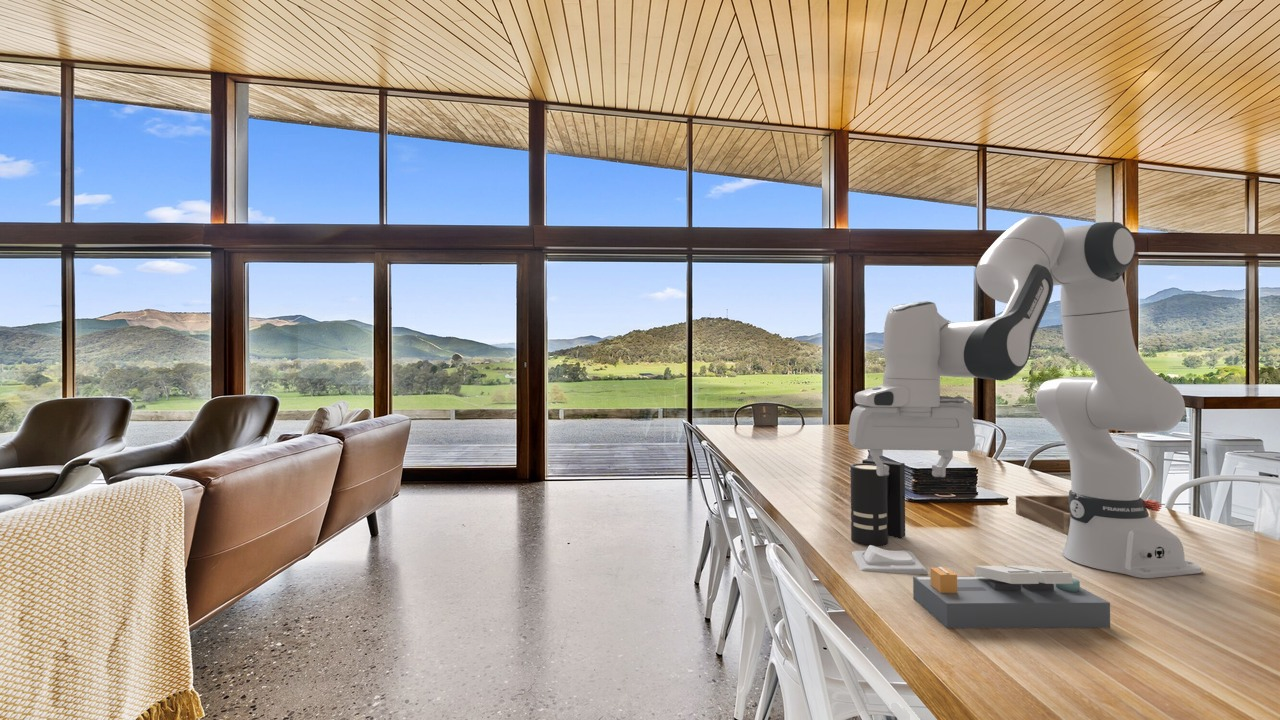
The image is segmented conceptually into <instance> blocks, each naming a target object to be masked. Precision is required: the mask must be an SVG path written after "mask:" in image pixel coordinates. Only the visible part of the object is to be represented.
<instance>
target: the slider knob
mask: <svg viewBox="0 0 1280 720" xmlns="http://www.w3.org/2000/svg"><path fill="white" fill-rule="evenodd" d="M929 573H930V575H929V576H930V580H931V586H932V587H934V588H935V589H936V590H938V591H939V592H940V593H957V576H958V574H956V573H955V572H954V571H952V570H951V569H949V568H948V567H942V566H938V567H930V570H929Z"/></svg>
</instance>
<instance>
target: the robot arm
mask: <svg viewBox="0 0 1280 720" xmlns="http://www.w3.org/2000/svg"><path fill="white" fill-rule="evenodd" d="M1135 241H1136V240H1135V237H1134V235H1133V233H1132V232H1131V230H1130V228H1128V227H1127V226H1125V225H1124V224H1122V223H1121V222H1119V221H1103V222H1102V221H1099V222H1096V223H1093V224H1086V225H1080V226H1073V227H1066V228H1063V227H1062V225H1061V224H1060V223H1059V222H1058V221H1056V220H1055V219H1053V218H1051V217H1048V216H1044V215H1030V216H1027V217H1024V218H1022V219H1020V220H1018V221H1017V222H1015V223H1014V224H1013V225H1012V226H1010V227H1009V228H1008V229H1007V230H1005V231H1004V232H1003V233H1002V234H1001V235H999V237H998V238H997V239H996V240H995V241H994V242H993V243H992V244H991V245H990V247H988V249H987V250H986V251H985V252H984V253H983V255H982V256H981V257H980V260H979V261H978V263H977V265H976V269H975V276H976V277H975V278H976V282H977V284H978V286H979V288H980V289H981V290H982V291H983V293H985V294H986V295H987V296H988V297H990V298H991V299H993V300H995V301H996V302H1000V303H1003V304H1006V305H1005V307H1004V309H1003V311H1002V313H1001V314H999V315H997V316H994V317H991V318H987V319H982V320H973V321H972V320H971V321H961V322H960V321H959V322H954V321H953V322H951V320H949V319H946V318H945V317H944V316H942V315H941V314H940V313H939V312H938V308H937V305H936V302H932V301H928V300H927V301H926V300H925V301H917V302H910V303H902V304H898V305H895V306H893V307H891V308H890V309H888V312H887V314H886V318H885V323H884V327H883V329H884V330H883V341H882V343H883V346H882V347H883V350H882V351H883V357H884V361H885V366H884V367H885V369H884V372H883V376H882V377H883V378H882V384H880V385H877V386H874V387H871V388H868V389H867V388H866V389H865V390H864V389H863V390H861V391H858V392H856V393H855V394H854V401H855V404H856V406H855V407H854V408H853V409H852V411H851V414H850V419H849V426H848V442H849V444H850V445H851V446H852V447H853V448H855V449H857V450H869V455H870V457H871V459H873V460H874V462H875V464H876V472H877V475H879V476H889V472H888V471H889V466H887V465H885V464H883V463H882V461H883V460H882V459H881V458H880V457H883V455H884V454H883V453H884V451H885V450H886V451H888V450H889V451H937V455H938V456H940V458H939V459H938V461H937V464H936V465H935V464H932V465H931V470H932V471H931V475H932V476H933V477H934V478H945V477H946V474H947V473H946V472H947V470H946V469H947V467H948V465H949V464H950V462H951V461H952V459H953V458H954V457H953V455H954V454H953V453H954V452H971V451H972V450H973V448H975V445H976V433H975V426H974V420H973V418H974V404H973V403H972V402H971V401H970V400H968V399H967V398H965V397H964V396H961V395H960V396H958V395H957V396H950V395H949V396H948V395H941V377H951V378H971V379H972V378H975V379H978V378H979V379H985V380H992V381H1000V382H1002V381H1008V380H1010V379H1012V378H1013V377H1015V376H1017V374H1019V373H1020V372H1021V371H1022V370H1023V369H1024V368H1025V366H1026V365H1027V363H1028V361H1029V359H1030V356H1031V350H1032V344H1033V339H1034V337H1035V335H1036V333H1037V330H1038V329H1039V326H1040V324H1041V321H1042V320H1043V318H1044V315H1045V312H1046V311H1047V308H1048V306H1049V303H1050V301H1051V298H1052V295H1053V291H1054V286H1061V287H1060V315H1061V316H1060V317H1061V324H1062V325H1061V326H1062V327H1061V328H1062V334H1063V345H1064V348H1065V350H1066V352H1067V353H1068V354H1069V355H1070V356H1071V357H1073V358H1074V359H1077V360H1078V361H1081V362H1083V363H1084V364H1085V365H1087V367H1088V368H1089V369H1090V371H1092V373H1093V376H1094V377H1093V376H1067V377H1066V376H1065V377H1059V378H1054V379H1049V380H1046V381H1044V382H1043V383H1042V384H1040V386H1039V387H1038V390H1037V391H1036V394H1035V399H1034V401H1035V406H1036V409H1037V410H1036V411H1038V413H1039V414H1040V416H1041V417H1042V418H1043V419H1045V420H1046V421H1047V422H1048V423H1049V424H1051V425H1052V427H1054V429H1055V430H1056V431H1057V432H1058V434H1059V436H1060V437H1061V439H1062V440H1063V443H1064V445H1065V448H1066V450H1067V454H1068V457H1069V465H1070V466H1069V467H1070V468H1069V469H1070V484H1071V487H1070V490H1068V495H1069V510H1070V515H1071V517H1070V525H1069V531H1068V535H1067V537H1066V541H1065V545H1064V548H1063V550H1062V556H1064V558H1066V559H1068V560H1070V561H1072V562H1074V563H1077V564H1079V565H1083V566H1087V567H1090V568H1093V569H1098V570H1102V571H1107V572H1114V573H1118V574H1124V575H1128V576H1131V577H1134V578H1135V577H1136V578H1140V579H1153V578H1162V577H1163V578H1164V577H1173V576H1184V575H1193V574H1201V573H1202V571H1203V570H1202V567H1200V566H1199V565H1198V564H1196V563H1195V562H1193V561H1191V560H1189V559H1186V558H1185V551H1184V550H1185V549H1184V546H1183V543H1182V541H1181V539H1180V538H1179V537H1178V536H1177V535H1176V534H1174V533H1173V532H1171V531H1170V530H1168V529H1167V528H1166V527H1164V526H1163V525H1162V524H1160V523H1158V521H1156V520H1155V519H1153V518H1152V517H1151V516H1150V514H1149V511H1148V510H1150V511H1153V512H1156V513H1157V512H1160V510H1161V509H1162V504H1160V502H1159V501H1156V500H1152V499H1147V500H1144V499H1143V498H1141V496H1140V464H1139V462H1138V460H1137V458H1136V456H1134V455H1133V454H1132V453H1130V452H1129V451H1127V450H1125V449H1124V448H1122V447H1120V446H1119V445H1118V444H1117V443H1116V442H1115V441H1114V440H1113V438H1112V436H1111V434H1110V431H1121V432H1129V433H1156V432H1166V431H1170V430H1173V429H1174V428H1175V427H1176V426H1177V425H1179V423H1180V422H1181V420H1183V417H1184V415H1185V410H1186V404H1185V400H1184V397H1183V395H1182V394H1181V392H1180V391H1179V389H1177V387H1175V386H1174V385H1173V384H1172V383H1170V382H1169V381H1167V380H1164V379H1162V378H1161V377H1160V376H1159V375H1157V374H1156V373H1155V372H1153V370H1151V369H1150V368H1149V366H1148V365H1147V364H1146V363H1145V361H1144V360H1143V358H1142V357H1141V355H1140V353H1139V352H1138V350H1137V347H1136V344H1135V339H1134V336H1133V329H1132V321H1131V316H1130V305H1129V299H1128V298H1129V297H1128V294H1127V289H1126V285H1125V282H1124V279H1123V276H1122V274H1123V273H1125V272H1126V271H1127V269H1128V268H1129V267H1130V265H1132V263H1133V261H1134V258H1135V255H1136V243H1135ZM1109 430H1110V431H1109ZM881 460H882V461H881Z"/></svg>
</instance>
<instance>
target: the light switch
mask: <svg viewBox="0 0 1280 720" xmlns="http://www.w3.org/2000/svg"><path fill="white" fill-rule="evenodd" d="M851 555H852V557H853V559H854V562H856V564H857V566H858V568H859V570H860V571H863V572H877V573H892V574H908V575H928V570H927V569H926V568H925V566H924V565H923V564H922V563H921V561H920V560H919V558H917V557H916V555H915V554H914V553H913V552H912V551H910V550H889V549H888V550H887V549H883V548H881V547H875V546H872V545H870V546H867V549H866V550H853V551H852V552H851Z"/></svg>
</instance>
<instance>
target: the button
mask: <svg viewBox="0 0 1280 720" xmlns="http://www.w3.org/2000/svg"><path fill="white" fill-rule="evenodd" d="M1072 579H1073V584H1056V587H1057V588H1059V589H1061V590H1064V591H1069V592H1079V591H1080V586H1081V584H1080V581H1079V580H1078V579H1077V578H1073V577H1072Z"/></svg>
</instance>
